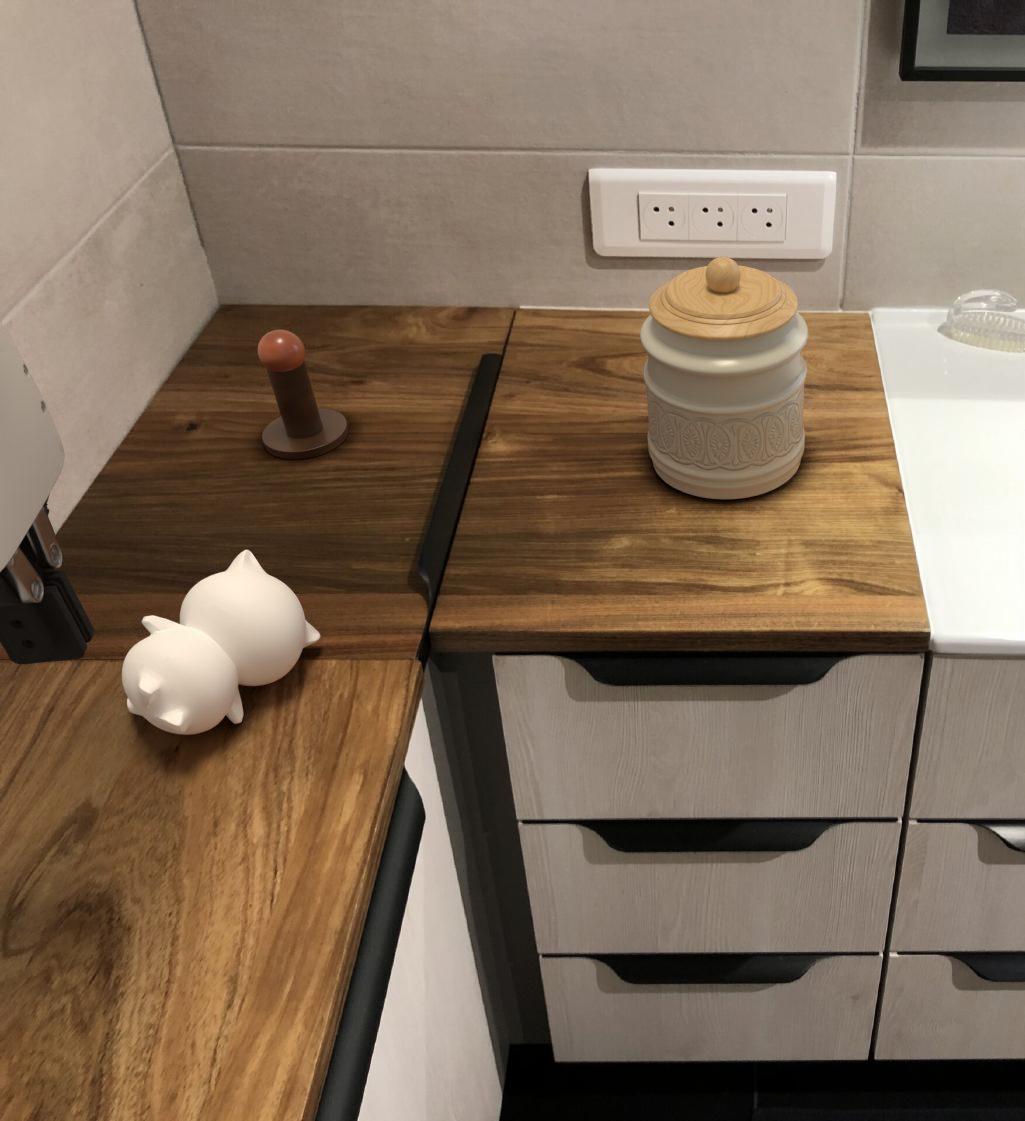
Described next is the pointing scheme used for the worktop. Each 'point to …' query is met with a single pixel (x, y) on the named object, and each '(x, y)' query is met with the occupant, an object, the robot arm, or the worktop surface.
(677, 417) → the jar
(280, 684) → the worktop surface
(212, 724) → the cat figurine
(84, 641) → the robot arm
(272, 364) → the marker post
